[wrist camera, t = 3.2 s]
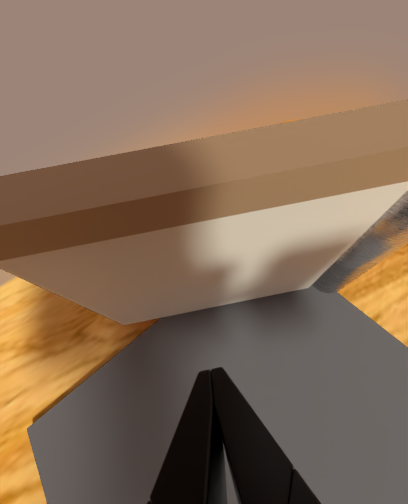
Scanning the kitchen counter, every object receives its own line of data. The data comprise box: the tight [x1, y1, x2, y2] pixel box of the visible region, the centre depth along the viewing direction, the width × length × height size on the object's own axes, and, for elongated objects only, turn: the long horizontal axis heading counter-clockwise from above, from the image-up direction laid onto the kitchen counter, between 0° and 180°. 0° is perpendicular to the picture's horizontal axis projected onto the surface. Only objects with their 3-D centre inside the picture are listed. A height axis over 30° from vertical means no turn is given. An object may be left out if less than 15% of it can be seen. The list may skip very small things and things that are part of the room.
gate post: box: [312, 190, 408, 293], centre depth 9 cm, size 3×3×14 cm
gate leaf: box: [0, 100, 408, 325], centre depth 10 cm, size 13×2×11 cm, turn 100°
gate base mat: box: [27, 285, 408, 504], centre depth 11 cm, size 16×20×1 cm
